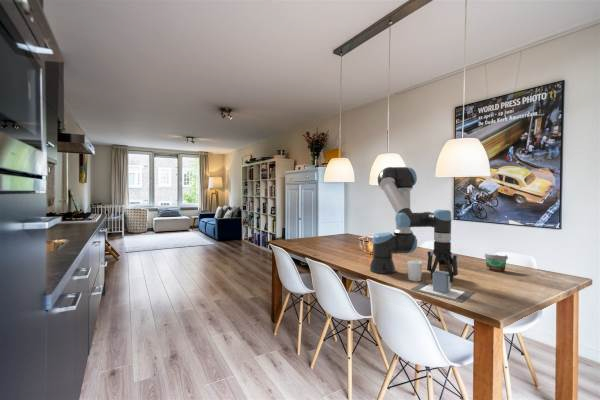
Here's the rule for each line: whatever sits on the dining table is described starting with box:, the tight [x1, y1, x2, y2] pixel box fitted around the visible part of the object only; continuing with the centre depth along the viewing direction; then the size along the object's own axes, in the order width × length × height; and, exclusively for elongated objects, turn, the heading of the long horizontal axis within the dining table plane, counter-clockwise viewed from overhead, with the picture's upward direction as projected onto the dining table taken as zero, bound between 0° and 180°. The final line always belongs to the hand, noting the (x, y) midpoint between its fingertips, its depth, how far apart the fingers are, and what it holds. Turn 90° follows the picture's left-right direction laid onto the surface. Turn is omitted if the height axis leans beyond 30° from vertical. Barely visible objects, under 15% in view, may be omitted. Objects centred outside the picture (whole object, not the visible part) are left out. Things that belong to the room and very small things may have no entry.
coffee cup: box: [438, 256, 453, 272], centre depth 167 cm, size 9×8×13 cm
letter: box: [420, 284, 464, 299], centre depth 145 cm, size 17×13×1 cm
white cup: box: [406, 259, 423, 282], centre depth 164 cm, size 8×8×10 cm
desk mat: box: [410, 281, 475, 304], centre depth 145 cm, size 24×18×1 cm
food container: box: [483, 253, 509, 273], centre depth 179 cm, size 12×6×10 cm, turn 68°
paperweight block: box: [432, 269, 450, 294], centre depth 144 cm, size 6×6×9 cm
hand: (441, 287), depth 144 cm, fingers open, 6 cm apart
